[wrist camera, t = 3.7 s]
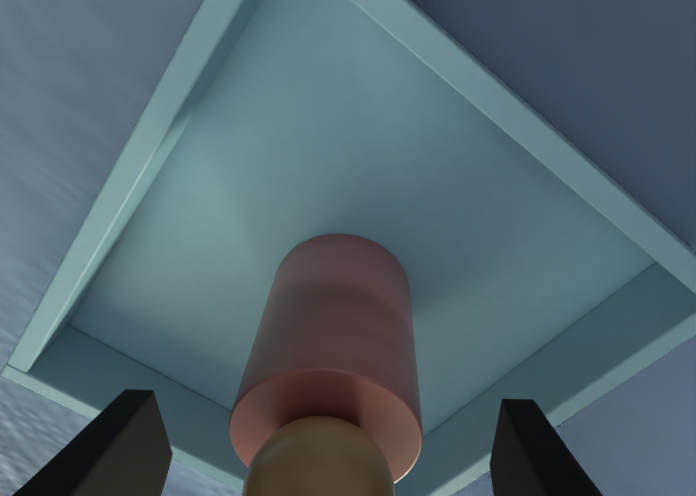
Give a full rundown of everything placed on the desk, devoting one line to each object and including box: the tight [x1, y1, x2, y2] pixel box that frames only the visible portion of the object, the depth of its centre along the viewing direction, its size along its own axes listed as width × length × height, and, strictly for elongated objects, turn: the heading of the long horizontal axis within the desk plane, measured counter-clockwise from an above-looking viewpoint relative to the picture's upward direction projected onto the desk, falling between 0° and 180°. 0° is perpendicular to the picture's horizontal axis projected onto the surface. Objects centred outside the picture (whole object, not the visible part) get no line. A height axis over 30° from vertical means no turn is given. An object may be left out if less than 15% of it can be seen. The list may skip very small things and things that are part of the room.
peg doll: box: [229, 234, 423, 496], centre depth 11 cm, size 4×4×8 cm
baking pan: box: [1, 0, 696, 496], centre depth 14 cm, size 14×13×2 cm
